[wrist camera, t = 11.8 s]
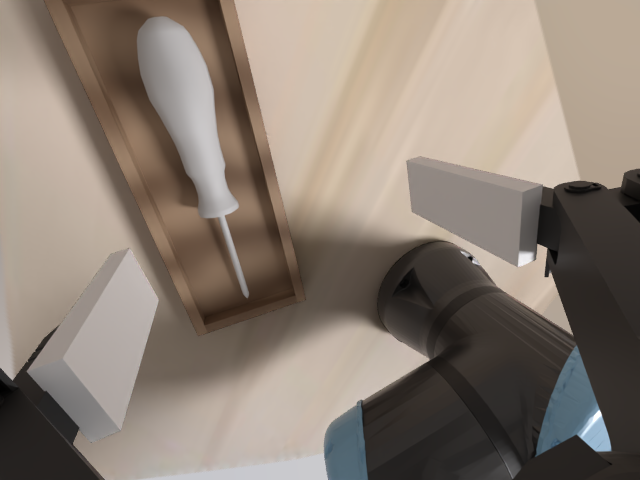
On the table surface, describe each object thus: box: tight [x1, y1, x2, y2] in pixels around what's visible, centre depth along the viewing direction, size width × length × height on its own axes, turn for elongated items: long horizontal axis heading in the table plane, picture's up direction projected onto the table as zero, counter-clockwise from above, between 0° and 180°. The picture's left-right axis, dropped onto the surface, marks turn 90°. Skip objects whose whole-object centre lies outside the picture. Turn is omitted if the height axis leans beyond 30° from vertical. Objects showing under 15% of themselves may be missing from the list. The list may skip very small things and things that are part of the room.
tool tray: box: [44, 0, 306, 336], centre depth 29 cm, size 30×12×2 cm, turn 11°
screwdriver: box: [137, 16, 249, 298], centre depth 28 cm, size 5×25×4 cm, turn 9°
